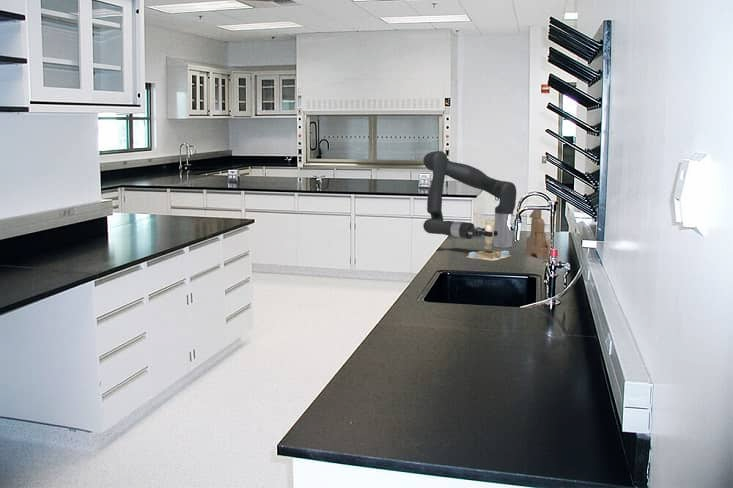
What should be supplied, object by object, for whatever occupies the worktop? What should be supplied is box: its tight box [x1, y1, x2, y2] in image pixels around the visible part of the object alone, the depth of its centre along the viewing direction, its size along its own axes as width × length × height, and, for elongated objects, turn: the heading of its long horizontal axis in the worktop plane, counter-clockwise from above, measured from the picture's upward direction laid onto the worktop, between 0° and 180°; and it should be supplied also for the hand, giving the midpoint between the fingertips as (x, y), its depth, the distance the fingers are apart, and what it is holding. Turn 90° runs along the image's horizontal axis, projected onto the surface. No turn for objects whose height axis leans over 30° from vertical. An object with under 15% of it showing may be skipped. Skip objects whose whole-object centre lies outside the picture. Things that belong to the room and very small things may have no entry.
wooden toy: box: [525, 209, 551, 263], centre depth 327 cm, size 16×7×25 cm, turn 20°
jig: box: [466, 249, 511, 262], centre depth 327 cm, size 18×14×4 cm
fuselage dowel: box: [483, 219, 495, 250], centre depth 324 cm, size 4×4×13 cm
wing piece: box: [500, 250, 510, 258], centre depth 329 cm, size 6×2×2 cm, turn 140°
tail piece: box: [468, 251, 478, 259], centre depth 325 cm, size 4×2×2 cm, turn 140°
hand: (494, 234), depth 322 cm, fingers closed on fuselage dowel, 4 cm apart
